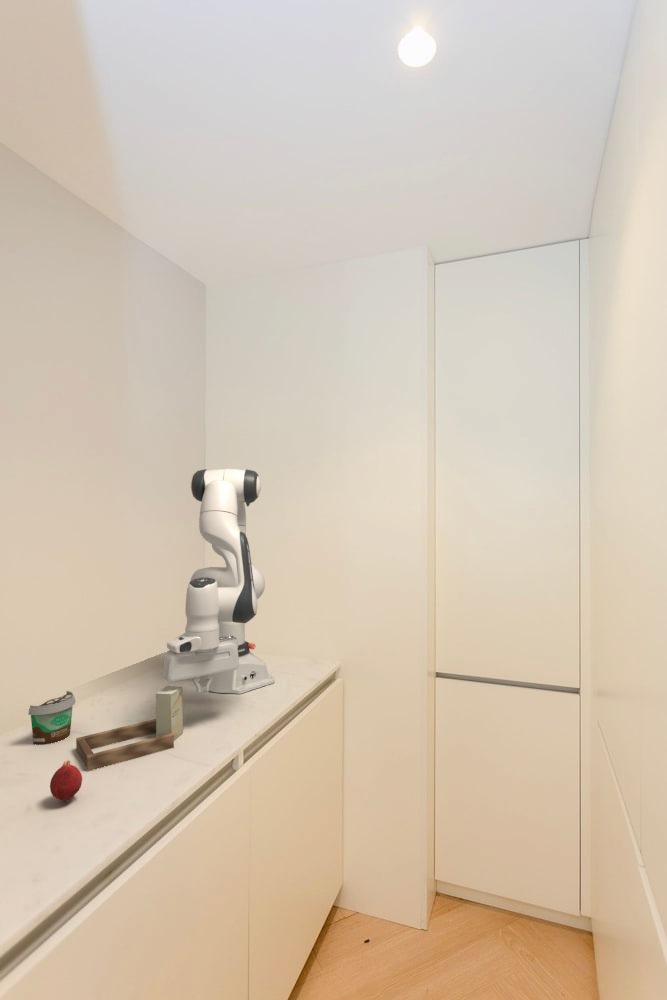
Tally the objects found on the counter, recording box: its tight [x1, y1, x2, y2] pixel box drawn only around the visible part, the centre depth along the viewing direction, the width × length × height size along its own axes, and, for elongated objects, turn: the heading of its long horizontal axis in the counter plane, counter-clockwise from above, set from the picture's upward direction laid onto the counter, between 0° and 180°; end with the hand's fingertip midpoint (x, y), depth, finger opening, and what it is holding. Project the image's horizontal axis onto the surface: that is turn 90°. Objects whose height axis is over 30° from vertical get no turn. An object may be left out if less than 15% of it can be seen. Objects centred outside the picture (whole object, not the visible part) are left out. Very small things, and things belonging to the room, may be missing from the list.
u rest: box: [75, 718, 175, 772], centre depth 131 cm, size 20×13×3 cm, turn 126°
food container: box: [28, 690, 76, 746], centre depth 137 cm, size 12×6×10 cm, turn 160°
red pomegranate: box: [49, 759, 83, 803], centre depth 108 cm, size 6×6×8 cm
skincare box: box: [155, 685, 184, 741], centre depth 137 cm, size 6×4×12 cm
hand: (202, 692), depth 142 cm, fingers closed
